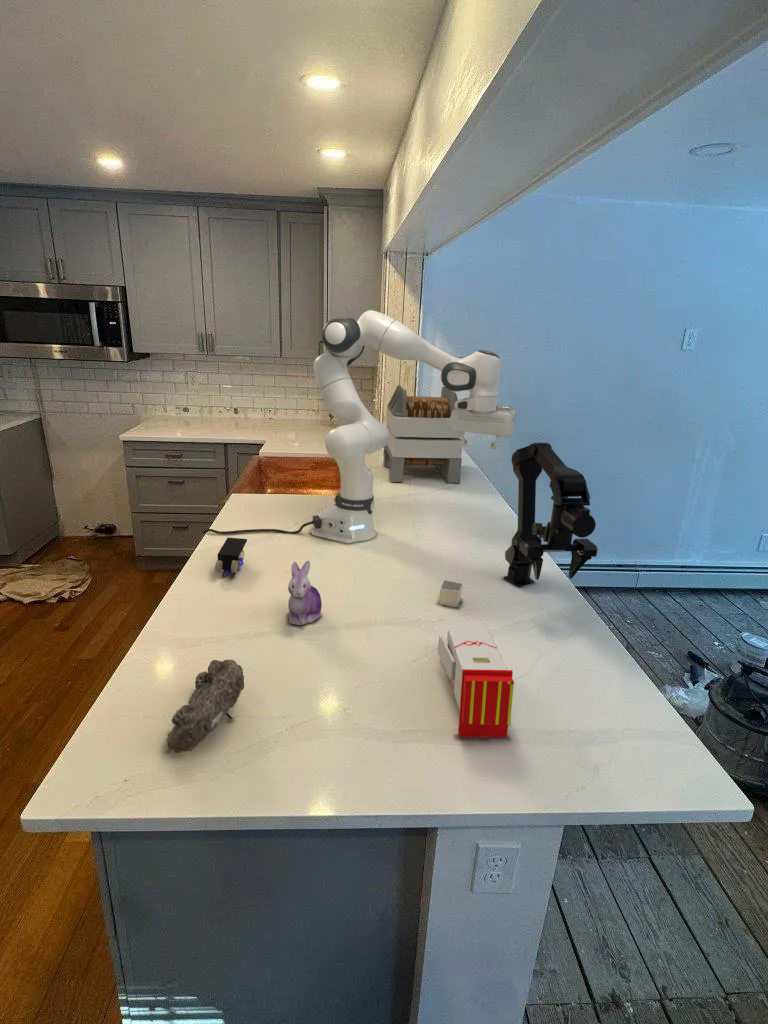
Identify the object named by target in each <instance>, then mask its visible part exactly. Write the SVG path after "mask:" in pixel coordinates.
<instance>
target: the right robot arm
mask: <svg viewBox="0 0 768 1024" xmlns="http://www.w3.org/2000/svg"><path fill="white" fill-rule="evenodd" d="M511 464H512V472H513V473H514V475H515V477H516V478H517V481H518V494H517V495H518V496H517V500H518V501H517V530H516V532H515V533H514V535H513V536H512V538H511V542H510V543H511V544H510V546H509V547H508V548H507V549H506V550H505V552H504V559H505V561H506V562H507V563H508V564H509V566H508V569H507V575H505V576H504V577H503V579H504V580H505V581H507V582H509V583H511V584H513V585H515V586H516V587H518V588H519V587H524V586H527V585H530V584H534V583H535V580H533V579H532V578H531V574H532V570H533V575H534V579H536V580H537V581H538V580H540V577H541V572H542V567H543V564H544V559H543V556H544V553H557V552H558V553H560V552H570V554H571V559H570V564H569V568H568V569H569V570H568V578H569V579H570V580H571V579H573V578H574V577H575V576H576V574H577V573H578V571H579V570H581V568H582V567H583V566H584V565H585V564H586V563H587V562H588V561H590V560H592V558H595V557H597V556H598V546H597V545H596V544H595V543H594V542H592V540H590V539H588V538H587V537H589V536H590V535H592V533H593V532H594V531H595V529H596V525H597V524H596V519H595V518H594V517H593V516H592V515H591V514H590V513H591V509H589V508H588V506H590V505H591V502H590V499H591V495H590V493H589V488H588V484H587V480H586V478H585V476H584V474H582V473H581V472H579V471H578V470H577V469H574V468H571V467H568V466H567V464H565V462H564V461H563V460H562V459H561V458H560V457H559V456H558V454H557V453H556V452H555V451H554V450H553V448H552V445H551V443H549V442H533V443H530V444H529V445H526V446H523V447H521V448H518V449H516V450H515V451H514V452H513V453H512V454H511ZM543 471H544V472H545V474H546V475H547V477H548V478H549V481H550V482H549V488H550V490H551V492H552V495H551V496H550V499H551V500H552V502H553V503H552V508H551V509H552V510H551V517H550V521H547V523H546V525H545V526H544V525H543V523H542V522H536V501H537V500H536V499H537V498H536V494H537V480H538V478H539V477H540V476H541V473H542V472H543ZM585 506H587V507H585ZM573 535H574V536H576V537H577V538H575V539H573ZM542 541H543V542H544V544H543V543H542Z"/></svg>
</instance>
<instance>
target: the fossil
mask: <svg viewBox="0 0 768 1024" xmlns="http://www.w3.org/2000/svg"><path fill="white" fill-rule="evenodd" d="M243 670H244V669H243V667H242V665H240V664H237V662H236V661H235V660H234V659H232V658H231V659H227V658H226V659H224V660H223V661H222V660H217V659H212V660H211V661H210V663H209V665H208V666H207V671H201V672H199V673H198V674H197V675H196V676H195V680H194V684H195V685H194V687H195V689H194V690H193V693H192V694H191V697H190V698H189V700H188V704H184V705H182V706H181V707H180V709H177V710H176V711H175V713H174V715H173V716H172V718H171V723H172V724H173V727H172V730H171V731H170V732H168V734H167V738H166V741H167V742H166V745H167V749H168V750H169V751H173V752H174V753H176V754H178V753H182V752H188V751H189V752H192V751H193V750H195V748H196V747H197V746H199V744H200V743H201V742H203V741H204V740H205V739H206V738H207V737H208V736H209V735H210V734H211V733H212V732H214V730H215V729H217V727H218V726H219V724H220V722H221V721H222V720H223V719H224V718H225V716H226V717H227V719H229V720H233V717H232V715H230V714H229V710H230V709H231V708H234V706H235V704H236V703H237V702H238V699H239V697H240V695H241V693H242V691H243V690H245V689H244V688H245V675H244V671H243Z"/></svg>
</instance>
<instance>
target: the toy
mask: <svg viewBox="0 0 768 1024" xmlns="http://www.w3.org/2000/svg"><path fill="white" fill-rule="evenodd" d="M446 640H447V643H446V641H445V639H444V636H443V635H442V634H439V637H438V646H437V656H438V657H439V659H440V661H441V663H442V666H443V668H444V670H445V672H446V674H447V677H448V679H449V681H450V684H451V687H452V690H453V693H454V697H455V701H456V705H457V708H458V711H459V714H458V715H459V716H458V730H457V731H458V732H457V737H458V738H508V731H509V726H510V725H511V717H512V707H513V697H514V696H513V695H514V684H515V680H514V679H513V673H514V671H513V670H512V669H508V667H507V665H506V662H505V661H504V659H503V658H502V655H501V653H500V651H499V649H498V647H497V643H496V639H495V637H494V635H493V634H491V632H490V631H489V629H467V628H466V629H465V628H463V629H461V628H460V629H459V628H448V630H447V639H446Z"/></svg>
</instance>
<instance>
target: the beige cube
mask: <svg viewBox="0 0 768 1024" xmlns="http://www.w3.org/2000/svg"><path fill="white" fill-rule="evenodd" d="M462 590H463V583H461V582H456V581H449V580H444V581H443V582H442V585H441V586H440V588H439V599H438V605H442V606H445V607H452V608H456V609H457V608H458V607H459V604H460V602H461V600H462Z"/></svg>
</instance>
